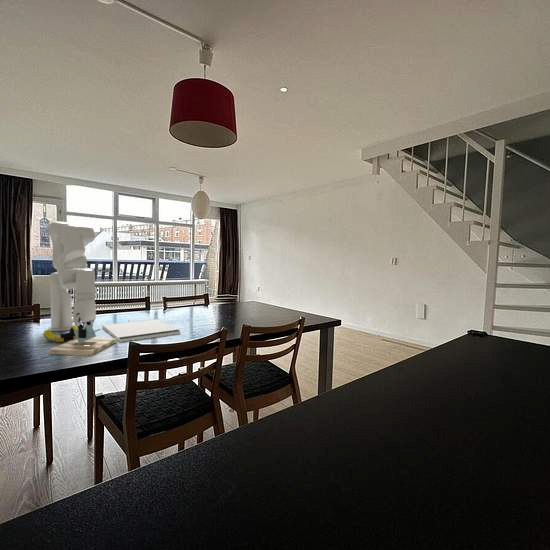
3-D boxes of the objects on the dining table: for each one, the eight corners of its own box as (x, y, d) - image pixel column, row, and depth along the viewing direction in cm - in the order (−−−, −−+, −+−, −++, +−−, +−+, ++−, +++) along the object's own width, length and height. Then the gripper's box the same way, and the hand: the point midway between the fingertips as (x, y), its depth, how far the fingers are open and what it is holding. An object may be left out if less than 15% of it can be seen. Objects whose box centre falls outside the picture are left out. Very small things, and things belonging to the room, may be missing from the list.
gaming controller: (42, 341, 153) (51, 345, 147) (41, 330, 152) (51, 333, 147) (75, 335, 165) (85, 338, 160) (75, 324, 165) (85, 327, 159)
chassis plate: (80, 340, 155) (80, 336, 155) (116, 342, 154) (116, 338, 154) (50, 353, 135) (49, 349, 135) (91, 355, 134) (91, 351, 134)
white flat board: (180, 330, 175) (119, 338, 155) (180, 334, 175) (119, 343, 155) (156, 319, 201) (102, 324, 181) (156, 322, 202) (102, 329, 181)
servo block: (78, 343, 146) (72, 329, 146) (102, 333, 146) (96, 319, 146) (73, 345, 142) (66, 331, 142) (97, 336, 142) (90, 321, 142)
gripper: (88, 294, 151) (88, 331, 153) (64, 298, 135) (64, 341, 136) (103, 294, 151) (104, 332, 152) (81, 299, 135) (82, 341, 136)
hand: (85, 336), depth 144 cm, fingers closed on servo block, 3 cm apart
